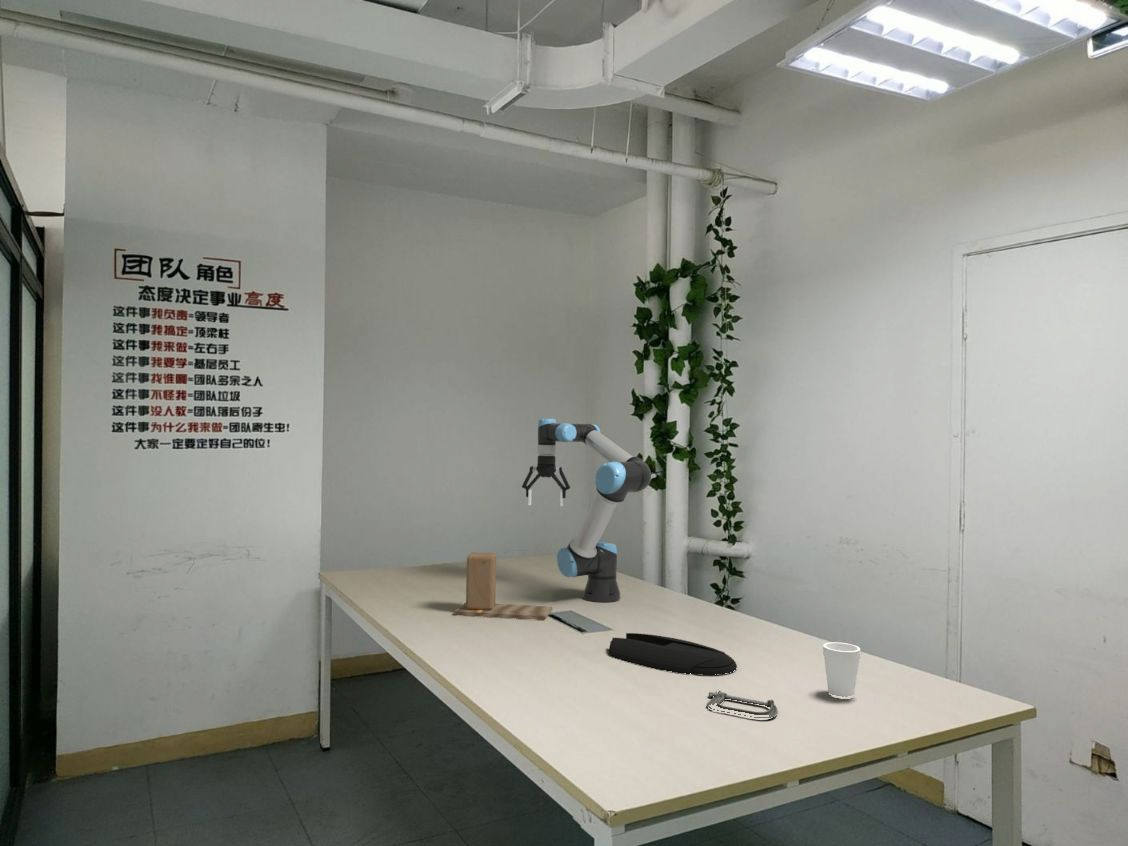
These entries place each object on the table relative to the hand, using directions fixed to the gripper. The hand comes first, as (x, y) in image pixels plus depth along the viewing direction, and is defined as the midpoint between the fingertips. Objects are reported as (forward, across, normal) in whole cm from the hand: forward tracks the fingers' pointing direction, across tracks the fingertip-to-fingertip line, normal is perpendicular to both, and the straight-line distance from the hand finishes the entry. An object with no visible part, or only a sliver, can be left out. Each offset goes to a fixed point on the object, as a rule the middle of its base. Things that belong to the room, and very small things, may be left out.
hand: (545, 505), depth 341 cm
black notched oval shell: (+37, -56, +86) cm, 109 cm away
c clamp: (+38, -74, +124) cm, 149 cm away
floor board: (+37, +8, +39) cm, 54 cm away
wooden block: (+35, +17, +39) cm, 55 cm away
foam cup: (+37, -101, +110) cm, 154 cm away
